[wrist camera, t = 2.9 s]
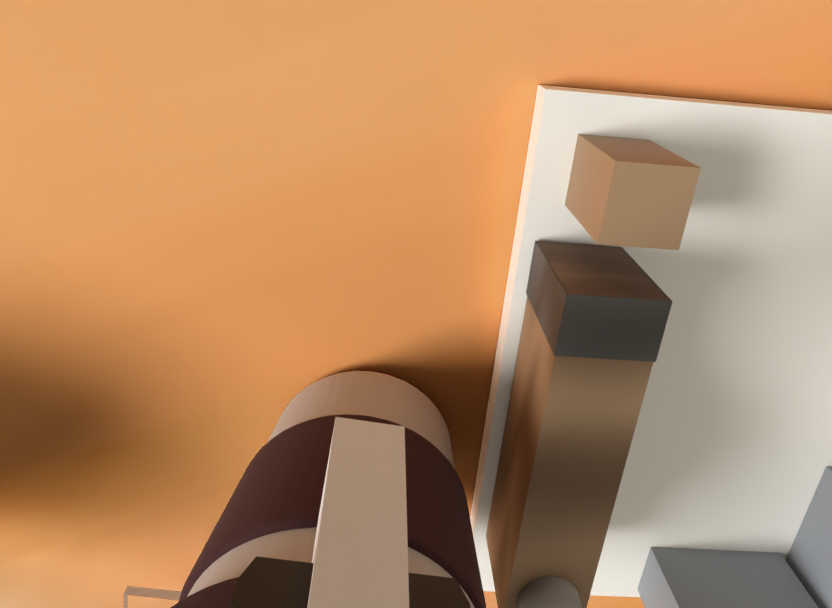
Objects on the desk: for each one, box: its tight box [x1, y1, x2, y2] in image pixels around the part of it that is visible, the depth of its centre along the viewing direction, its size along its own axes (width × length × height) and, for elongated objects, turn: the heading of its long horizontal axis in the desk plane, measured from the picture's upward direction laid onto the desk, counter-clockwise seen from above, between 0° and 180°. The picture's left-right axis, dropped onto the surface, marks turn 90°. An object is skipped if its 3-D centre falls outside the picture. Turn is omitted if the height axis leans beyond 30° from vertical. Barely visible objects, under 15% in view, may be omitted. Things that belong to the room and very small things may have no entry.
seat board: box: [470, 85, 832, 608], centre depth 25 cm, size 22×16×5 cm
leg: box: [486, 241, 673, 608], centre depth 23 cm, size 14×3×5 cm, turn 175°
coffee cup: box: [171, 371, 486, 608], centre depth 21 cm, size 10×10×15 cm
